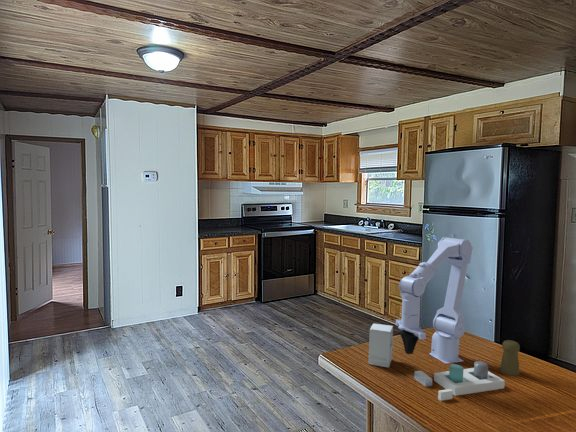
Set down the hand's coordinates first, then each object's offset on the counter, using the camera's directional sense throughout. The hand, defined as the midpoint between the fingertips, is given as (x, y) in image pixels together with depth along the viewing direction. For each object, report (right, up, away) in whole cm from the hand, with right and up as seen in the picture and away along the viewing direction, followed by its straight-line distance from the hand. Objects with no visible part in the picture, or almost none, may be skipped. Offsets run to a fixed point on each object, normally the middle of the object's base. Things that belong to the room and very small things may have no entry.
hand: (409, 353), depth 136 cm
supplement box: (-8, -6, +9) cm, 13 cm away
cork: (+34, -7, +1) cm, 35 cm away
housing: (+16, -8, -8) cm, 20 cm away
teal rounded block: (+12, -7, -10) cm, 17 cm away
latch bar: (+2, -7, -7) cm, 10 cm away
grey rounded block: (+20, -7, -7) cm, 23 cm away
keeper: (+5, -8, -17) cm, 20 cm away
